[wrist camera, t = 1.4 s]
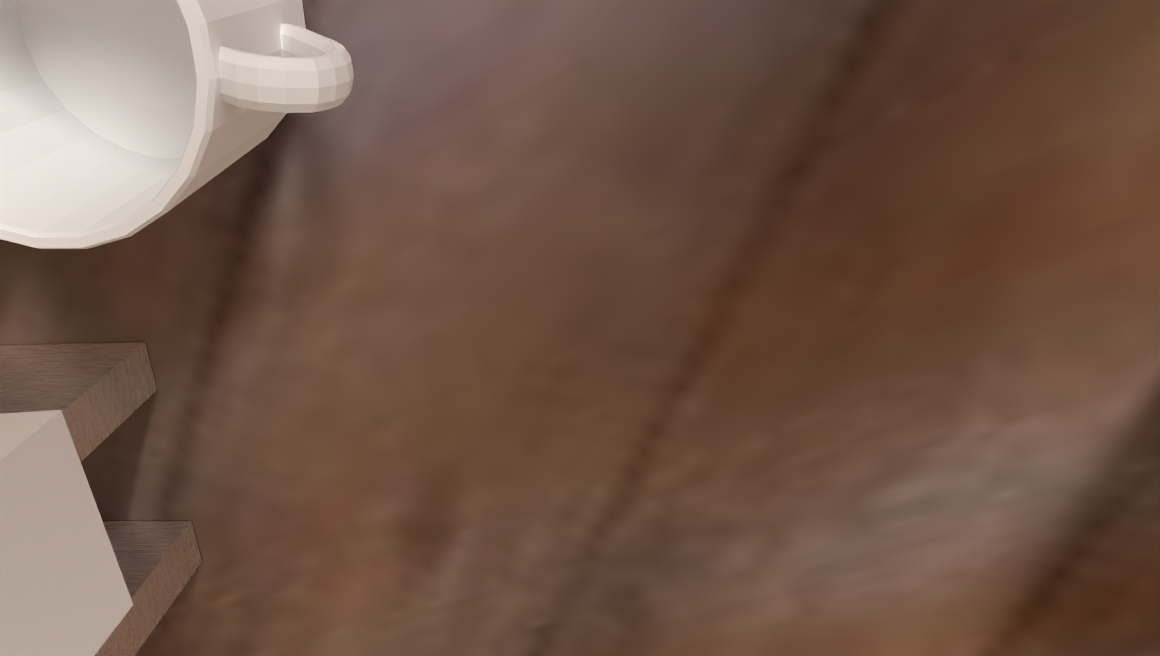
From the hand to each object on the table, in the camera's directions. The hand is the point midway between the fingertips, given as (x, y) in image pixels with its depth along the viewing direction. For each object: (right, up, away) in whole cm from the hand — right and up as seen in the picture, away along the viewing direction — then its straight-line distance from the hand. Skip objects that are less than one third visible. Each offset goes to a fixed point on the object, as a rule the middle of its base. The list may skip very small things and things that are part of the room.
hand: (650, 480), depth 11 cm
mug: (-13, +12, +22) cm, 28 cm away
